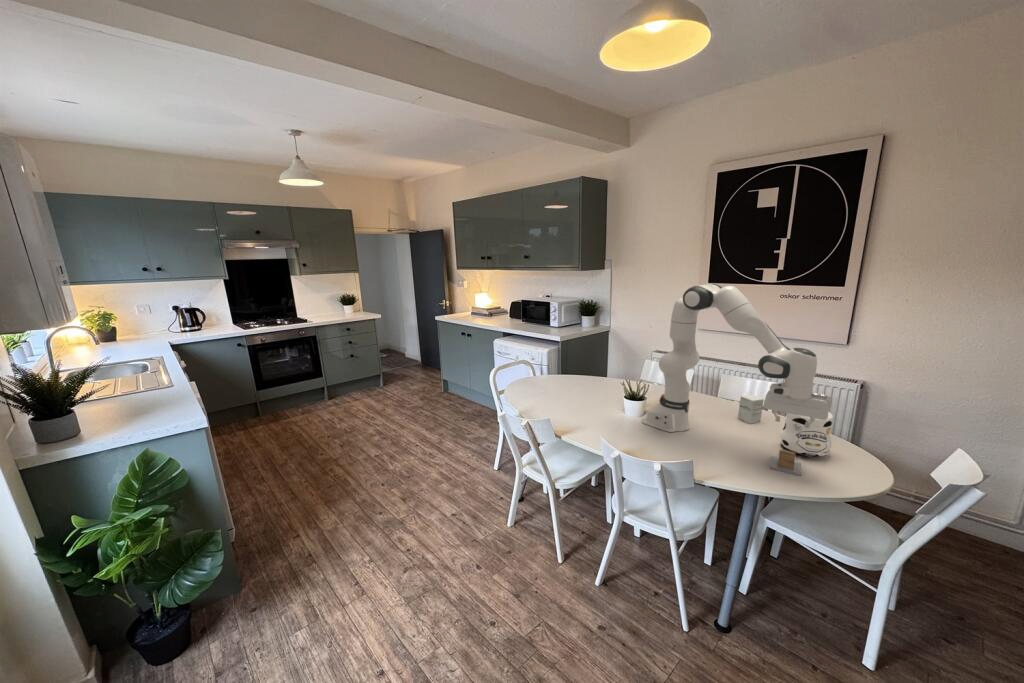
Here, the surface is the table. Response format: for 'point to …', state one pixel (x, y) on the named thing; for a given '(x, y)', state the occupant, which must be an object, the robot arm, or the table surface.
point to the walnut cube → (786, 459)
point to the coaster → (794, 471)
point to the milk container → (807, 435)
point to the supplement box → (750, 408)
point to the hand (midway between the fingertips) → (792, 424)
